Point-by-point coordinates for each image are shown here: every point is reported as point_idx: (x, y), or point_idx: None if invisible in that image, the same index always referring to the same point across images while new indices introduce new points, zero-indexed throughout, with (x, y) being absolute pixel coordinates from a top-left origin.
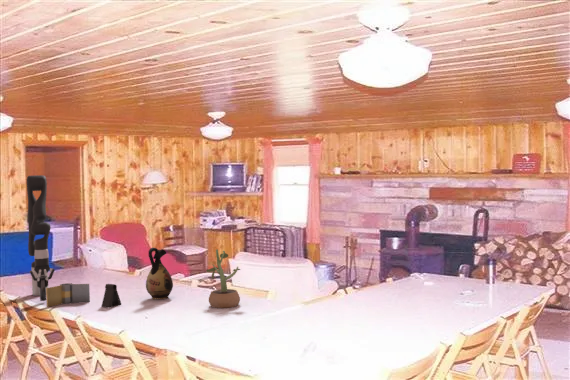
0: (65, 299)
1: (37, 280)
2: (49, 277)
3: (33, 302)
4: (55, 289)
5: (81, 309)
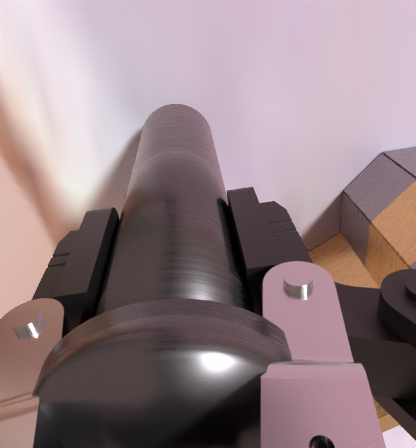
0: None
1: None
2: (385, 409)
3: (43, 11)
4: None
5: (406, 431)
